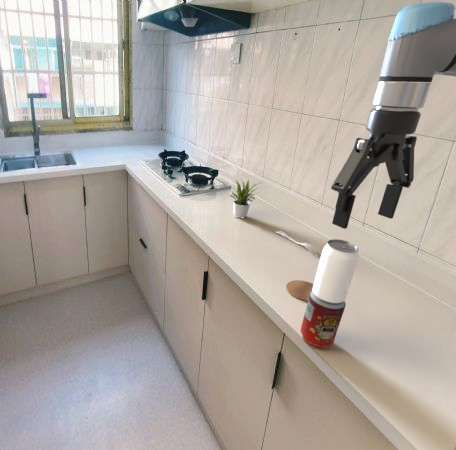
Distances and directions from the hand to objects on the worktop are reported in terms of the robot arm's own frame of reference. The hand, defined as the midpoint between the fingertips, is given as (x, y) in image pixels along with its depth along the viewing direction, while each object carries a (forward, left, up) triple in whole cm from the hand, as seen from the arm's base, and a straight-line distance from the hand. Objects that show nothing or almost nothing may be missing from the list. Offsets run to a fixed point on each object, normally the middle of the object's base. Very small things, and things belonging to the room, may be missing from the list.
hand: (363, 221), depth 67 cm
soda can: (+3, +4, -29) cm, 29 cm away
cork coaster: (+5, -16, -29) cm, 33 cm away
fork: (+8, -48, -29) cm, 56 cm away
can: (+3, +4, -17) cm, 17 cm away
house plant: (+29, -65, -29) cm, 77 cm away
